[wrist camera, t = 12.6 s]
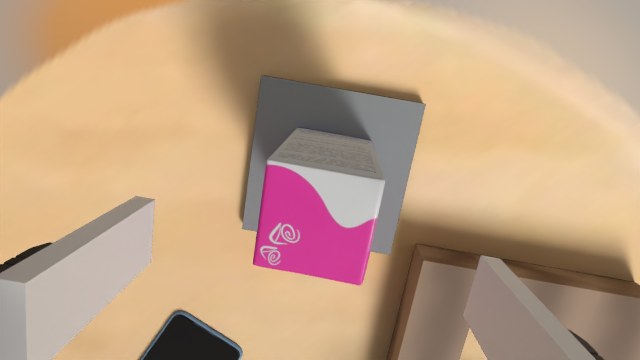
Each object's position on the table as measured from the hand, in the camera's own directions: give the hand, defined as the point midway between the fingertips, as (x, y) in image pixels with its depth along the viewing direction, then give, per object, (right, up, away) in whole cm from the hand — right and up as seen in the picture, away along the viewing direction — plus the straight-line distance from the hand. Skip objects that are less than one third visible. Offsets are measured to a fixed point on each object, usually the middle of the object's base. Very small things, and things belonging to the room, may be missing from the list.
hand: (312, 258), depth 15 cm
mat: (+1, +4, +15) cm, 15 cm away
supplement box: (+1, +4, +14) cm, 15 cm away
